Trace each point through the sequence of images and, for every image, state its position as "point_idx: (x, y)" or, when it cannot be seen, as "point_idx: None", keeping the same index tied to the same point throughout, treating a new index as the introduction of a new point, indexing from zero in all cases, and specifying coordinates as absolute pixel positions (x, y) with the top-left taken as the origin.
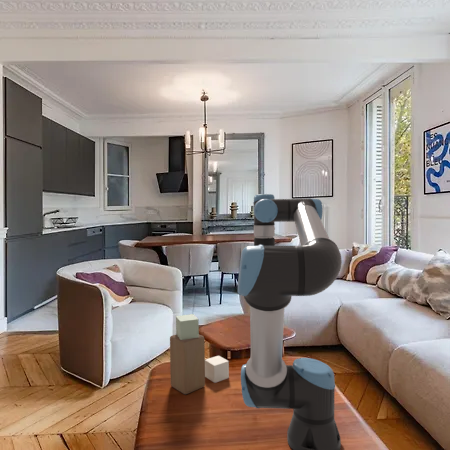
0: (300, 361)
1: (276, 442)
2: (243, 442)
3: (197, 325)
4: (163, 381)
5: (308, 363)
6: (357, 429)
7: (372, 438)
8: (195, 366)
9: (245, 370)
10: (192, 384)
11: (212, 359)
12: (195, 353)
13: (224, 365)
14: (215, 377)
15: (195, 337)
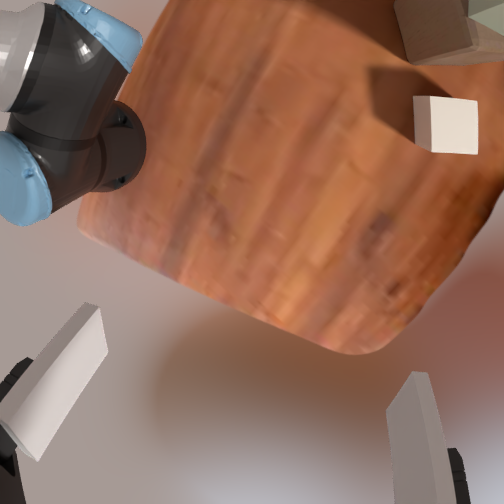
0: (12, 164)
1: (131, 84)
2: (160, 29)
3: (493, 1)
4: None
5: (6, 178)
6: (108, 233)
7: (86, 233)
8: (420, 18)
9: (58, 5)
10: (402, 18)
11: (467, 120)
12: (436, 10)
13: (428, 134)
14: (417, 99)
15: (469, 4)
